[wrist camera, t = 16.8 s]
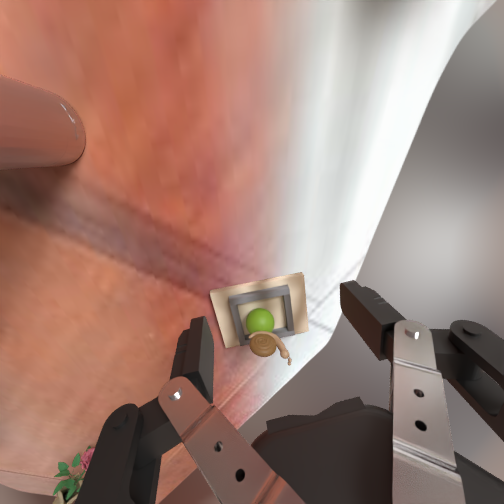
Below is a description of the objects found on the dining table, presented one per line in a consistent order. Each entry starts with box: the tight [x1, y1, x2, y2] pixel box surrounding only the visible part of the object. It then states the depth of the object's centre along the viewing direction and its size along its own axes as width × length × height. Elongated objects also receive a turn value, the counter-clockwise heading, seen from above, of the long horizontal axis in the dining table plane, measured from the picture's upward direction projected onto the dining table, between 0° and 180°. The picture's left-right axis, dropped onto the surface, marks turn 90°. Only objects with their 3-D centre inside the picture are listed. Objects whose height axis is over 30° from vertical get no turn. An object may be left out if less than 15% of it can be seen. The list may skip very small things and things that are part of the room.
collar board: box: [210, 272, 309, 348], centre depth 46 cm, size 18×14×3 cm
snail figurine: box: [246, 308, 292, 365], centre depth 40 cm, size 5×6×12 cm
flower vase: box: [53, 446, 95, 504], centre depth 57 cm, size 12×12×35 cm
